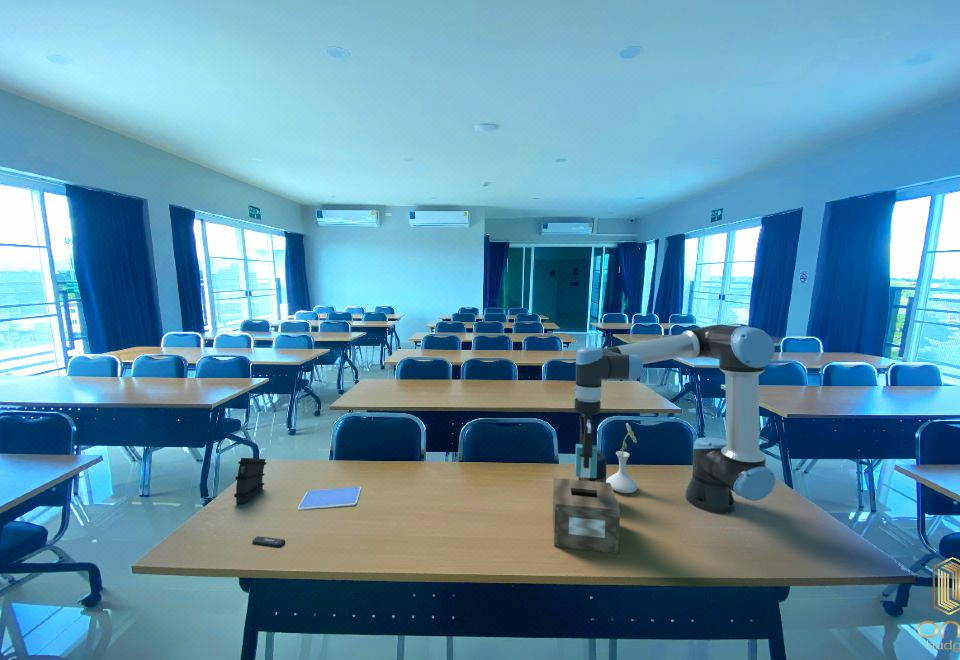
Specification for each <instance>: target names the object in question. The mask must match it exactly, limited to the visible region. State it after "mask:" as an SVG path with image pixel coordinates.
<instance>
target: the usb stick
mask: <svg viewBox="0 0 960 660" xmlns="http://www.w3.org/2000/svg"><path fill="white" fill-rule="evenodd" d="M251 542H252V545H260V546H267V547H276V548H281V547H283V546H284V545H285V544H286V540H285V539H284V538H277V537H276V538H275V537H266V536H259V535H257V536H256V537H254V538H253V540H252V541H251Z"/></svg>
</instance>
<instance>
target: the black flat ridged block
mask: <svg viewBox="0 0 960 660" xmlns="http://www.w3.org/2000/svg"><path fill="white" fill-rule="evenodd" d="M237 464H238V465H239V466H238V469H237V470H238V471H237V476H235V481H236V487H235V489H236V490H235V493H234V494H233V495H234V496H233V497H234V498H236V499H235V503H236V505H245V504H246V503H247V502H249V501H250V500H251V499H253V498H254V497H255V496H256V495H257V494H258V493H260V492H261V491H262V490H263V487H264V485H265V482H264V481H263V477H264V476H265V473H264V469H265V465H267V462H266V458H253V457H241V458H240V461H239V460H238V462H237Z"/></svg>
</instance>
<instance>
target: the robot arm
mask: <svg viewBox="0 0 960 660" xmlns="http://www.w3.org/2000/svg"><path fill="white" fill-rule="evenodd" d="M683 357H688V358H690V359H694V358H709V359H711V358H712V359H717V360H719V361H718V363H719V365H718V366H719V370H720V371H721V372H723V374H724V375H725V377H724V378H725V379H724V381H725V383H724V384H725V422H726V423H725V426H726V427H725V428H726V431H725V432H726V434H725V435H726V439H722V438H717V437H699V438H696V440H695V441H694V443H693V449H692V450H693V451H692V456H693V457H692V471H691V473H692V475H691V478H690V481H689V483H688V485H687V487H686V490H685V499H686V501H688V502H689V503H690V504H691V505H693V506H695V507H696V508H698V509H701V510H704V511H706V512H710V513H716V514H730V513H733V512H734V511H735V509H736V501H735V498H734V495H733V494H734V493H735V495H737V496H740V497H742V499H745V500H747V501H754V502H756V501H759V500H763V499H766V497H768V495H770V494H771V493H772V492H773V490H774V489H775V486H776V481H777V480H776V476H775V473H774V472H773V471H772V470H771V469H770V468H769V467H767V466H766V462H767V461H766V455H765V454H764V452H762V451H761V449H760V402H759V401H760V396H759V395H760V391H759V389H760V386H759V385H760V383H759V376H760V375H761V374H762V373H764V372H765V371H766V370H765V369H766V368H765V367H766V366H768V365H769V364H770V363H771V359H773V358H774V357H775V344H774V341H773V339H772V337H771V336H770V335H769V334H768V333H767V332H766V331H764V330H763V329H761V328H756V327H752V326H747V325H746V326H745V325H732V324H731V325H730V324H712V325H707V326H703V327H696V328H693V329H688V330H685V331H683V332H682V333H681V334H676V335H670V336H666V337H660V338H655V339H649V340H644V341H639V342H638V341H637V342H633V343H627V344H621V345H616V346H612V347H606V348H605V347H589V346H587V347H586V346H585V347H580V348H578V349H577V351H576V357H575V359H576V360H575V386H574V387H573V391H574V392H575V393H574V394H575V395H574V396H575V398H574V411H575V412H576V413H579V414H580V415H579V429H580V430H579V443H578V444H582V454H580V457H581V477H585V478H590V468H591V458H592V447H593V445H594V444H593V443H594V430H595V428H594V426H595V419H594V416H593V415H596V416H597V415H598V414H600V413H601V398H602V386H603V385H602V381H603V380H604V381H605V380H616V381H617V380H620V381H621V380H622V381H623V380H625V381H626V380H627V381H630V380H638V379H640V377H642V374H643V371H644V370H643V369H644V368H643V367H644V365H647V364H650V363H657V362H662V361H667V360H672V359H673V360H674V359H679V358H683ZM733 492H734V493H733Z"/></svg>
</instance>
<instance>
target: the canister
mask: <svg viewBox="0 0 960 660" xmlns="http://www.w3.org/2000/svg"><path fill="white" fill-rule="evenodd" d="M578 480H582V481H594V482H605V483H606V480H607V457H606V455H604V454H603V453H601V452H598V451H597V475H596V478H585V477H578Z"/></svg>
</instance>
